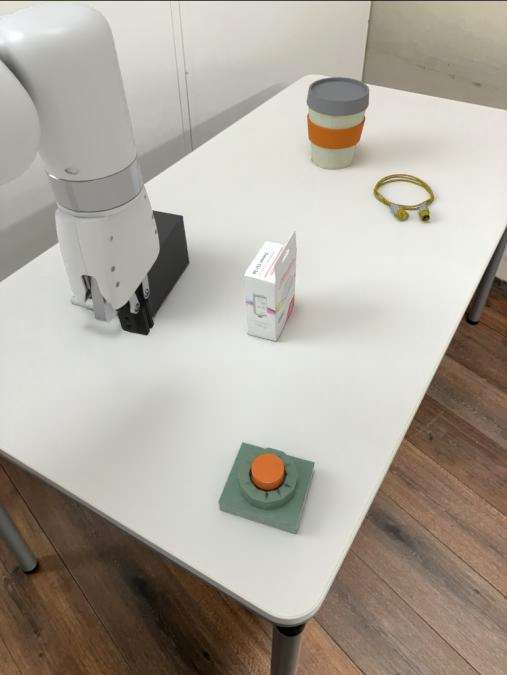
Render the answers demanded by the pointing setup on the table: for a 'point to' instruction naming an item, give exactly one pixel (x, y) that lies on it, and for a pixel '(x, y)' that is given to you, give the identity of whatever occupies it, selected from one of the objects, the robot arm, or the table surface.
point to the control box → (267, 505)
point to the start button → (267, 471)
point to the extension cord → (399, 209)
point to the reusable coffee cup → (336, 120)
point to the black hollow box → (167, 258)
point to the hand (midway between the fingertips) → (138, 328)
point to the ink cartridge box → (270, 288)
